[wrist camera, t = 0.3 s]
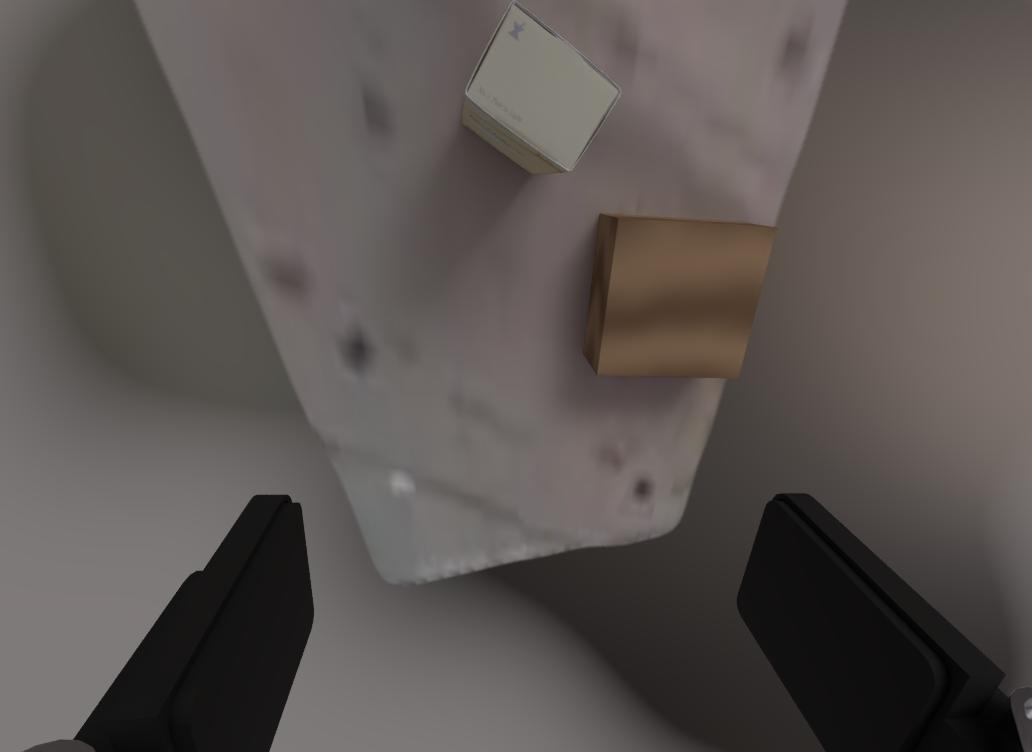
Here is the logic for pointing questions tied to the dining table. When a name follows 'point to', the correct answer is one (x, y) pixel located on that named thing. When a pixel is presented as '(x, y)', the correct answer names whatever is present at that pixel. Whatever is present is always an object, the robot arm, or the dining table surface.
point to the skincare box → (536, 95)
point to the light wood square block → (674, 295)
